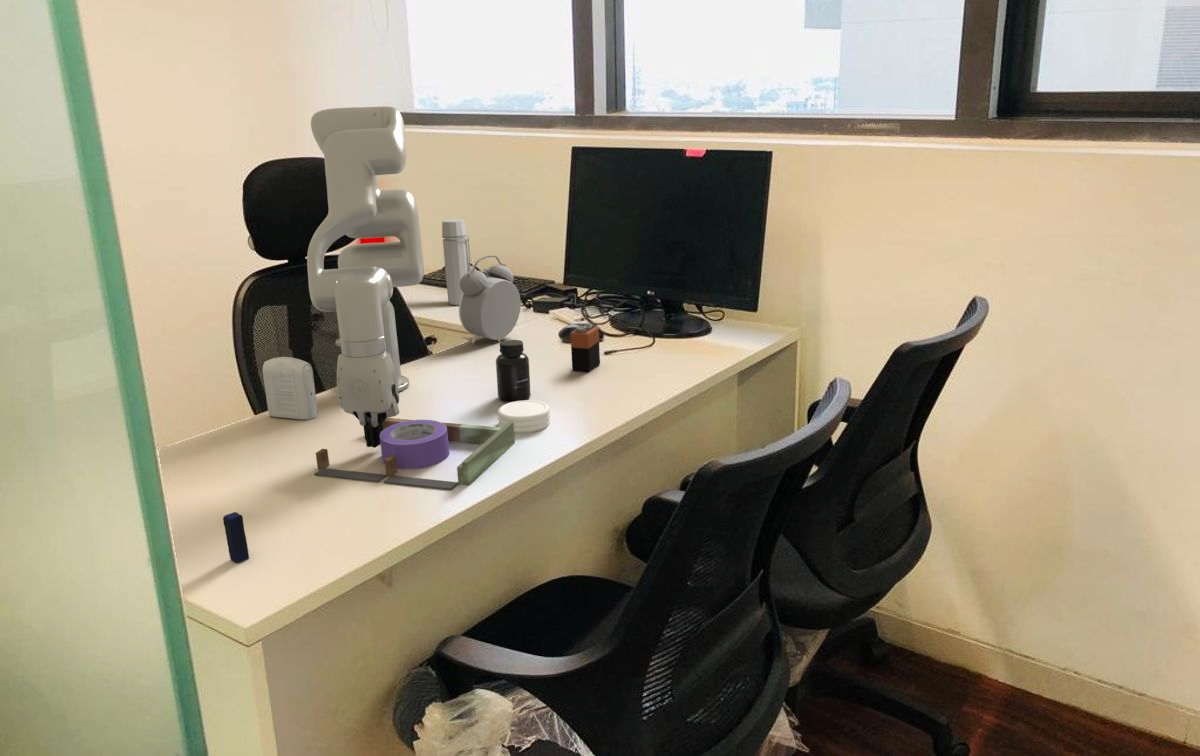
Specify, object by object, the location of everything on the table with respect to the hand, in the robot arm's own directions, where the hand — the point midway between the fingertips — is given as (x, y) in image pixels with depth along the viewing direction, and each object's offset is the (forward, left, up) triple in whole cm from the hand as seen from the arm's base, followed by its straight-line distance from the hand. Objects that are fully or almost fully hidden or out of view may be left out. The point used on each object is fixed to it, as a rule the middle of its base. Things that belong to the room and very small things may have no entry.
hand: (375, 444), depth 166 cm
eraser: (+2, -40, -2) cm, 40 cm away
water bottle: (-37, +111, -2) cm, 117 cm away
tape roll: (+8, 0, -2) cm, 8 cm away
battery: (+21, +56, -2) cm, 60 cm away
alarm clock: (-10, +74, -2) cm, 74 cm away
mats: (+8, -11, -1) cm, 13 cm away
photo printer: (-27, +13, -2) cm, 30 cm away
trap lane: (+8, 0, -1) cm, 8 cm away
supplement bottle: (+13, +33, -2) cm, 36 cm away
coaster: (+21, +19, -2) cm, 29 cm away
